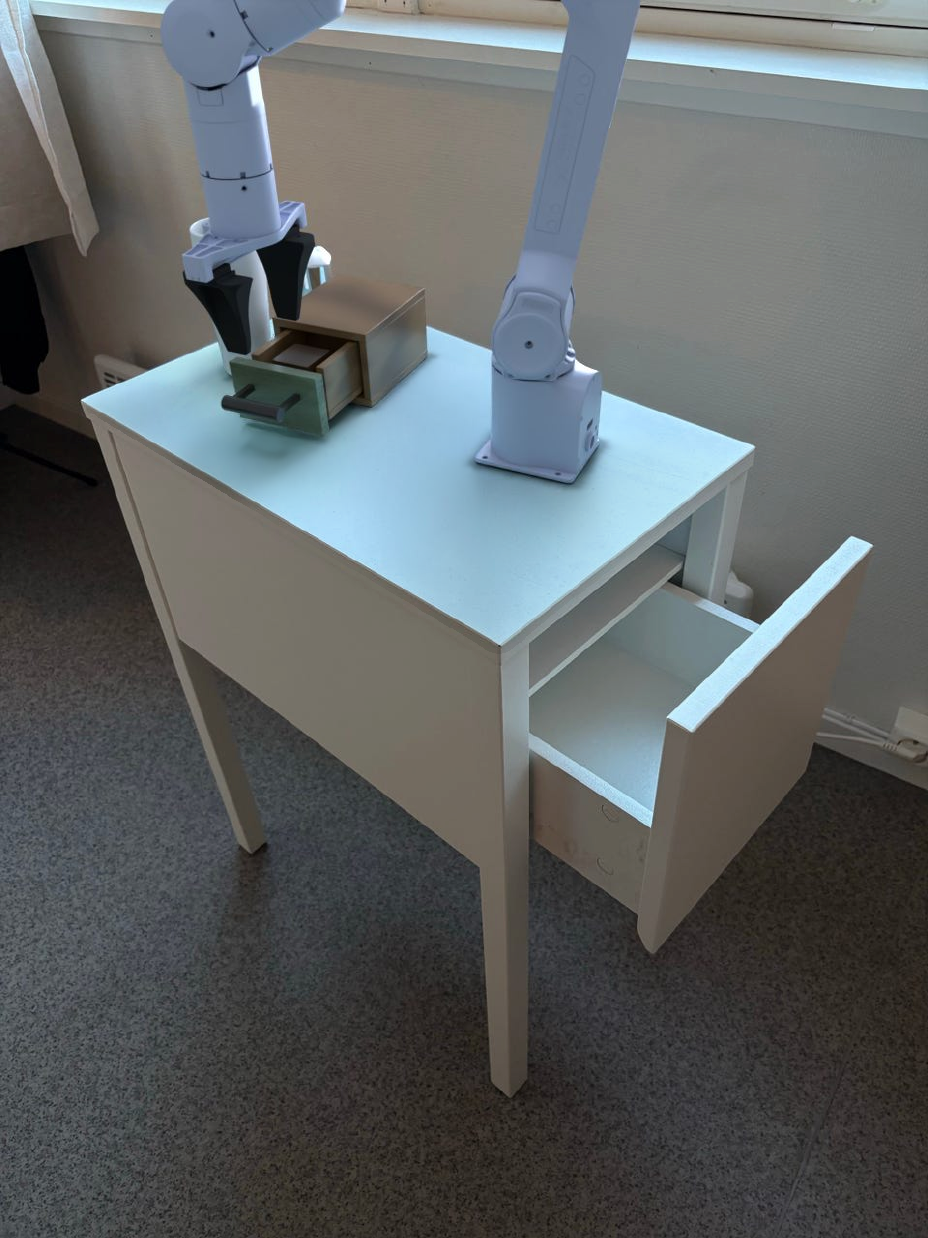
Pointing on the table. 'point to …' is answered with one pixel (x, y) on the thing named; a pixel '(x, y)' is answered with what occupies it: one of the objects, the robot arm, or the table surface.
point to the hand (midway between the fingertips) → (264, 334)
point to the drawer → (296, 383)
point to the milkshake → (317, 270)
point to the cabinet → (369, 327)
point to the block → (302, 357)
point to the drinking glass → (257, 299)
